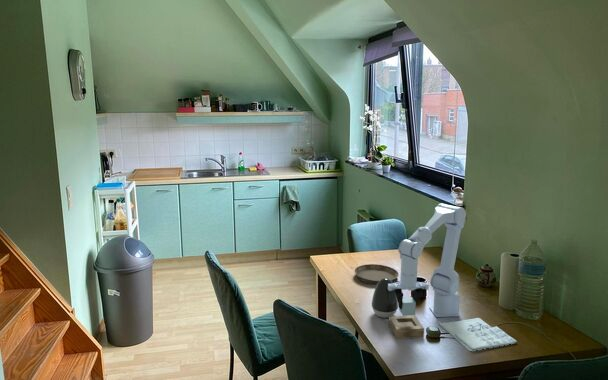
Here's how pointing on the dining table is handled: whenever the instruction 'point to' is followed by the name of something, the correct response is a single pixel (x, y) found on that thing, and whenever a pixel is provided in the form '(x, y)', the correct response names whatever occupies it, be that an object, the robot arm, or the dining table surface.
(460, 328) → the paper napkin stack
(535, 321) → the dining table surface
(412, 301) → the blue block
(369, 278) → the plant saucer
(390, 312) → the dark grey egg shape
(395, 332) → the square wooden tray
